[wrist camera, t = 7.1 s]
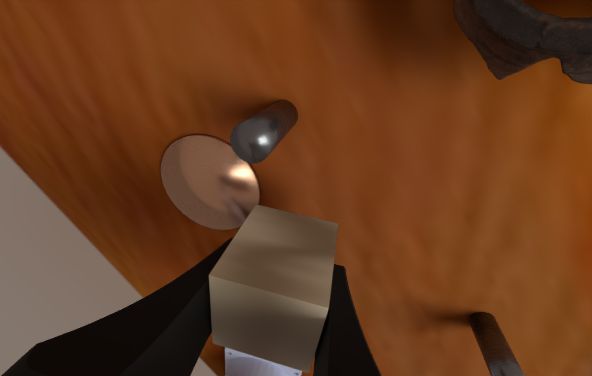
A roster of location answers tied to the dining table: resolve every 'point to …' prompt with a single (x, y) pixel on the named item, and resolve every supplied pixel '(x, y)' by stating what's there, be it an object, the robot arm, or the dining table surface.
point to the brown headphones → (525, 37)
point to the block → (274, 287)
